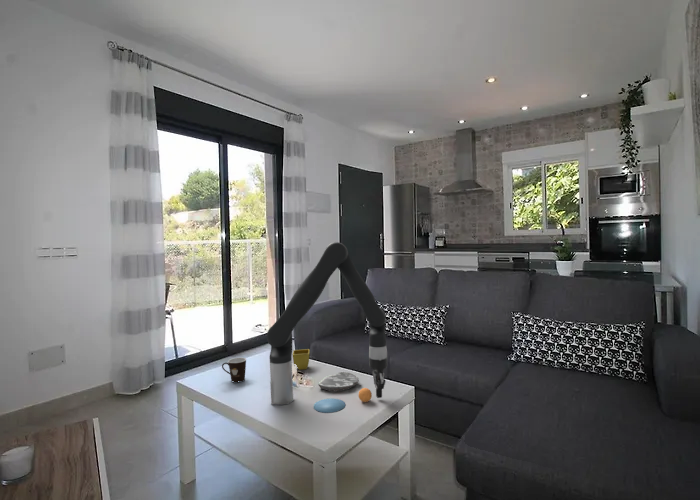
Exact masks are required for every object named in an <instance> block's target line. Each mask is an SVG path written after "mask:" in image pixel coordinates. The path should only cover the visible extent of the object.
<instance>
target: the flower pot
mask: <svg viewBox="0 0 700 500" xmlns="http://www.w3.org/2000/svg"><path fill="white" fill-rule="evenodd" d="M292 363H293V365H294V364H296V365H297V367H298V369H299V370H298V371H300V370H307V369H308V367H309V363H310V349H309V348H307V349H306V348H305V349H294V350H292Z"/></svg>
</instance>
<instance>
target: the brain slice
mask: <svg viewBox="0 0 700 500" xmlns="http://www.w3.org/2000/svg"><path fill="white" fill-rule="evenodd" d="M358 382H360V381H359V377H357V376H356V374H355V375H354V374H353V373H350V372H346V371H345V372H344V371H343V372H342V371H341V372H338V373H335V374H331V375H327V376H324V377H323V378H322V380H321V381H319V382H318V387H319V388H320V389H322V390H326V391H327V392H328V391H329V392H330V393H332V392H340V391H346V390H350V389H351V388H353V387H355V386H356V385H357V384H358Z"/></svg>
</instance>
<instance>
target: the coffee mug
mask: <svg viewBox="0 0 700 500" xmlns="http://www.w3.org/2000/svg"><path fill="white" fill-rule="evenodd" d="M224 365H228V369H229V371H228V370H227V369H225V368H224ZM246 367H247V358H245V357H235V358H234V357H233V358H230V359H229V360H228V361H227V362H223V363H222V365H221V368H222V370H223V371H224V372H226V373H227V374H229V375H230V381H231V382H232V381H234V382H237V383H239V382H238V381H242V382H244V381H245V379H246V369H247V368H246ZM243 380H244V381H243ZM234 382H233V383H234Z"/></svg>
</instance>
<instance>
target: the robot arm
mask: <svg viewBox="0 0 700 500" xmlns="http://www.w3.org/2000/svg"><path fill="white" fill-rule="evenodd" d="M348 250H349V249H348V248H347V246H346V245H345V244H343V243H342V242H338V241H335V242H330V244H328V245H327V247H326V248H325V250H324V251H323V254H322V256H321V257H320V259H319V261H318V262H317V263H316V266H315V267H314V268H313V270H311V271H310V273H309V274H308V275H307V276H306V277H305V279H304V280H303V281H302V283H301V284H300V285H299V287H298V288H297V289H296V291H295V293H294V294H293V296H292V297H291V298H290V301H289V302H288V304H287V306H286V308H285V309H284V311H283V313H282V314H281V315H280V316H279V317H278V319H277V320H276V321H275V322H274V323H273V325H272V326H270V327H269V328H268V329H267V334H266V340H267V343H268V345H270V352H269V371H270V372H269V374H270V381H269V383H270V386H269V387H270V403H271V404H270V405H277V406H281V405H288V404H291V403H292V402H293V401H294V384H293V383H294V382H293V330H294V329H295V327H296V326H297V324H298V323H299V322H300V321H301V320H302V319H303V317H305V316H306V314H307V313H308V312H309V311H310V310H311V309H312V307H313V306H314V304H316V302H317V300H318V299H319V298H320V296H321V295H322V293H323V291H324V289H325V288H326V285H327V283H328V281H329V279H330V277H331V276H332V275H333V274H334V272H335V271H336V270H337V269H338V271H339V272H340V273H341V274H342V276H343V277H344V279H345V282H346V284H347V286H348V287H349V289H350V292H351V294H352V295H353V297H354V298H355V300H356V302H357V303H358V305H359V306H360V308H361V310H362V311H363V313H364V316H365V318H366V320H367V321H368V322H369V337H368V338H369V339H368V341H369V342H368V343H369V345H368V347H369V349H368V362H369V365H368V367H369V368H370V369H371V370H372V371H371V374H372V376H373V377H372V378H373V384H374V387H375V397H376V398H377V399H380V398H383V390H384V389H385V385H386V379H385V372H384V370H385V369H387V368H388V350H387V335H386V320H387V319H386V318H387V317H386V315H387V314H386V312H385V310H384V309H383V308H381V307H380V306H379V305H378V303H377V301H376V299H375V296H374V293H372V290H371V289H370V288H369V286H368V285H367V283H366V282H365V280H364V278H363V277H362V276H361V274H360V273H359V271H358V270H357V268H356V266H355V264H354V263H353V260H352V259H351V256H350V253H349V251H348Z"/></svg>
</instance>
